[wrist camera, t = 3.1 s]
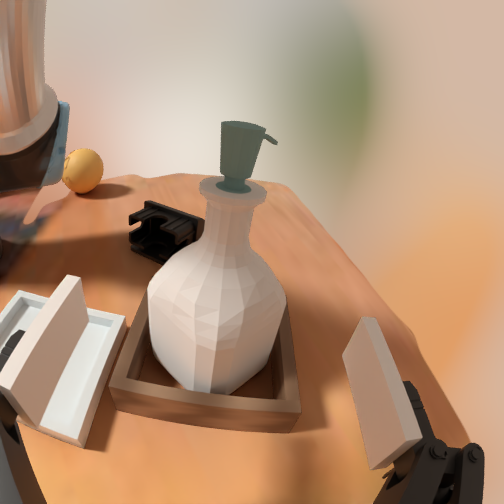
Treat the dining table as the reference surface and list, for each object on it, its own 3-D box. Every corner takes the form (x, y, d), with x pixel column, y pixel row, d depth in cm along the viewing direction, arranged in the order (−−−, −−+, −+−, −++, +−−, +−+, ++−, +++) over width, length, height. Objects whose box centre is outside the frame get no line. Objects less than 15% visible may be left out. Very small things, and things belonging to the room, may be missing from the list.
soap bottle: (274, 365, 31) (343, 142, 19) (207, 418, 24) (250, 140, 12) (211, 317, 35) (241, 113, 24) (143, 353, 29) (140, 112, 17)
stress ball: (108, 194, 63) (102, 159, 65) (104, 171, 54) (98, 134, 56) (68, 205, 59) (64, 169, 61) (58, 184, 50) (56, 145, 52)
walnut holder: (116, 409, 22) (108, 385, 20) (153, 302, 36) (152, 275, 34) (288, 433, 24) (301, 412, 22) (278, 320, 37) (286, 295, 35)
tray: (-35, 391, 17) (-44, 379, 16) (23, 302, 30) (19, 289, 29) (84, 448, 18) (77, 439, 17) (127, 329, 31) (125, 316, 30)
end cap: (204, 252, 48) (209, 212, 44) (178, 273, 42) (181, 229, 39) (155, 232, 50) (156, 195, 47) (127, 249, 45) (126, 208, 41)
